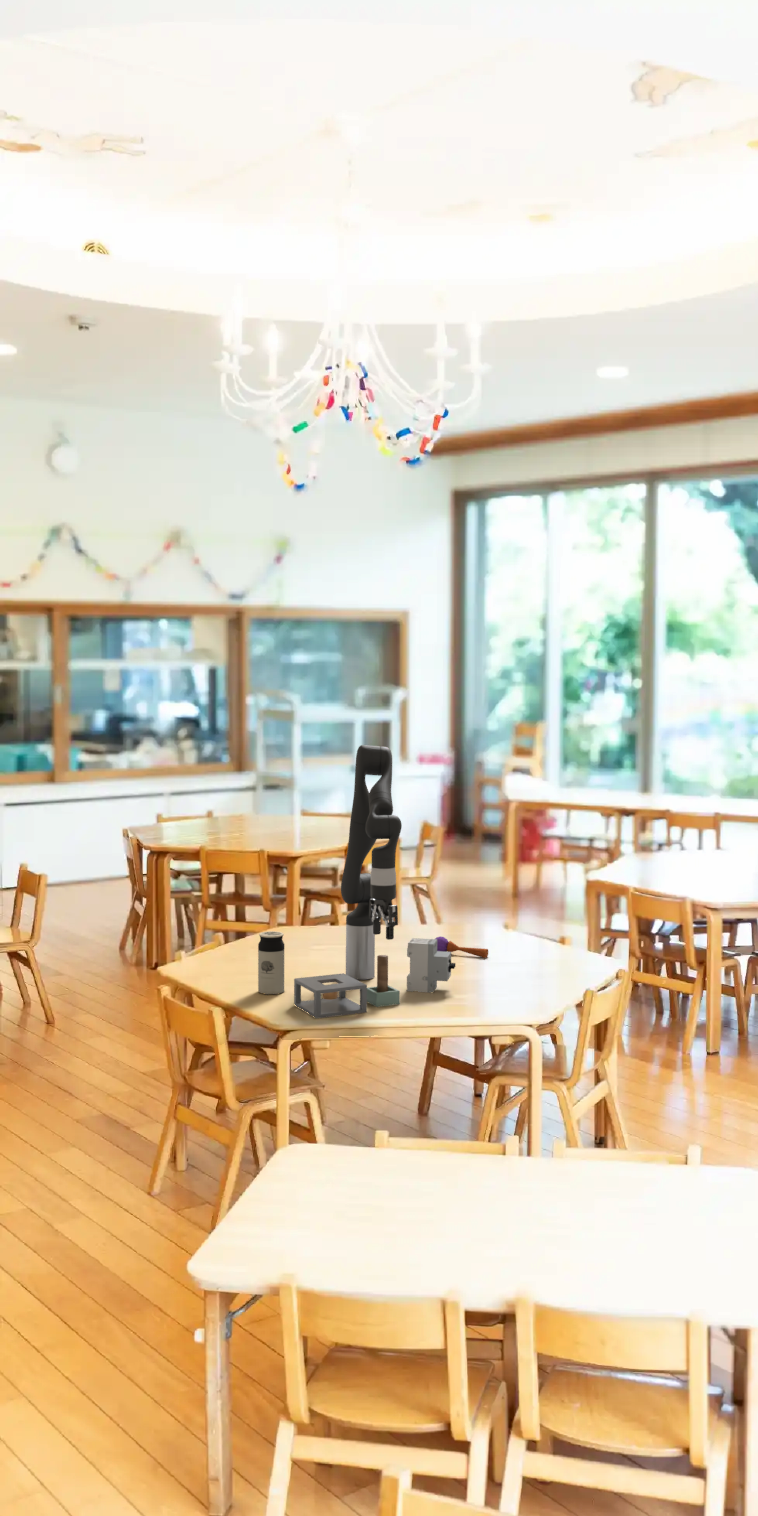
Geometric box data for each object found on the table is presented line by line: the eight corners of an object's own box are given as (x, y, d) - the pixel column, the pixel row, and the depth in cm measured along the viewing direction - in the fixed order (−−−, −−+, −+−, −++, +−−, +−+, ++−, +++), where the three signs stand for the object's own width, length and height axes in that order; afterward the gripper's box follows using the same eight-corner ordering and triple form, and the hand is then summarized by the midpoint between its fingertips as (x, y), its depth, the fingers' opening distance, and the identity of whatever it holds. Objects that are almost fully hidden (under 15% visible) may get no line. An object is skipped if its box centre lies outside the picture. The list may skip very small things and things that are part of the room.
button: (320, 996, 397) (320, 986, 397) (333, 995, 399) (333, 985, 399) (326, 1000, 393) (326, 989, 393) (340, 998, 395) (340, 988, 395)
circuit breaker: (452, 993, 415) (453, 945, 414) (406, 991, 418) (407, 942, 417) (456, 987, 423) (456, 940, 422) (411, 985, 426) (411, 938, 425)
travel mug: (268, 987, 422) (268, 930, 420) (289, 990, 418) (289, 932, 416) (253, 992, 415) (253, 934, 414) (274, 996, 411) (274, 937, 410)
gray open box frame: (294, 1005, 400) (294, 978, 400) (343, 999, 407) (343, 973, 407) (316, 1018, 386) (316, 990, 385) (366, 1012, 393) (367, 985, 392)
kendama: (483, 948, 462) (429, 938, 470) (483, 965, 464) (429, 954, 472) (489, 942, 467) (436, 932, 475) (489, 958, 469) (435, 948, 477)
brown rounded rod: (375, 1002, 405) (375, 955, 404) (384, 1000, 406) (385, 954, 405) (379, 1004, 402) (380, 957, 401) (389, 1003, 403) (389, 956, 402)
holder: (365, 1001, 406) (365, 987, 406) (388, 998, 409) (388, 985, 409) (376, 1006, 399) (376, 993, 399) (399, 1004, 402) (399, 990, 402)
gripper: (405, 885, 397) (405, 940, 398) (383, 878, 410) (383, 931, 411) (382, 886, 394) (382, 942, 395) (361, 879, 406) (361, 933, 407)
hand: (383, 936), depth 403 cm, fingers open, 8 cm apart
